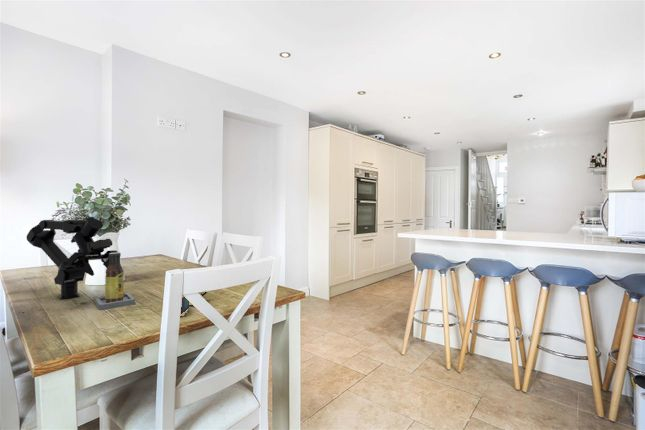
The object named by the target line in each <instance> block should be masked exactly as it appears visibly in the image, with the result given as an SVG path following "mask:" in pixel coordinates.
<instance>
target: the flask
mask: <svg viewBox="0 0 645 430" xmlns="http://www.w3.org/2000/svg"><path fill="white" fill-rule="evenodd" d="M188 307H189V308H190V306H189V301H188V300H187V299H186V298H185V297H183V298H182V307H181V314H182V313H183V312H185V311H186V310H187V309H188Z"/></svg>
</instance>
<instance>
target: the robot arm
mask: <svg viewBox="0 0 645 430" xmlns="http://www.w3.org/2000/svg"><path fill="white" fill-rule="evenodd" d="M103 227H104V224H103V222H102V221H101V220H99V219H96V218H95V217H94V216H88V217H87V218H86V219H67V220H55V219H43V220H40V221H39V223H38V224H37V225H35V226H33V227H32V228H31V229H30V230H29V231H28V233H27V235H26V241H28V243H29V244H30V245H32V246H33V247H36V248H39V249H41V250H42V251H43V252H44V253H45V254H46V256H47V257H48V258H49V259H50V260H51V261H52V262H53V263H54V265H55V266H56V267H57V269H58V270H57V275H56V276H55V278H54V285H58V286H59V285H60V294H58V295H59V300H65V299H72V298H77V297H78V298H79V297H80V293H79V290H78V288H79V287H78V286H79V282H83V281H84V278H85V275H86V274H88V275H90V276H92V277H93V276H94V275H95V272H94V270H93V267H92V265H91V264H90V261H99V260H100V261H101V263H102V265H103V266H104V267H105V268H106V269H107V267H108V266H109V253H115V252H118V250H107V251H106V252H105V249H107V248H111V247H112V246H113V240H111V238H105V239H98V240H94V237H96V236H97V235H98V233H99V232H100V231H101V230H102V229H103ZM56 230H57V231H62V232H64V233H65V234H69V235H70V234H74V235H72V238H71V240H70V242H71V243H75V245H77V247H78V250H77V251H75V252H74V253H72V254H71V255H70V256H69V257H68V256H67V255H66V254H65V253H64V251H63V250H62V249H61V248H60V247H59V246H58V245H57V244H56V243H55V241H54V240H55V236H56V233H57V232H56ZM103 252H104V254H103Z"/></svg>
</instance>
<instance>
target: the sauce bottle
mask: <svg viewBox="0 0 645 430" xmlns="http://www.w3.org/2000/svg"><path fill="white" fill-rule="evenodd" d="M121 256H122V255H121V252H118V251H117V252H115V253H109V266H108V267H107V268H106V269H105V275H104V276H105V281H104V282H105V284H104V285H105V286H104V287H105V289H104V291H105V292H104V293H105V295H104V297H105V298H106V303H110V302H116V301H122V300H123V296H124V293H125V292H124V291H125V290H124V285H125V284H124V283H125V280H124V279H125V278H124V275H125V274H124V269H123V267H122V264H121Z"/></svg>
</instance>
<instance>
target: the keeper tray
mask: <svg viewBox="0 0 645 430" xmlns="http://www.w3.org/2000/svg"><path fill="white" fill-rule="evenodd" d="M94 304H95V305H96V307H97V308H98V310H99V311H104V310H109V309H113V308H120V307H121V308H122V307H125V306H132V305H136V299H135V297H133V295H132V294H131V293H130V292H124V296H123V300H122V301H116V302H110V303H106V298H105V296H100V297H95V300H94Z"/></svg>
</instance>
